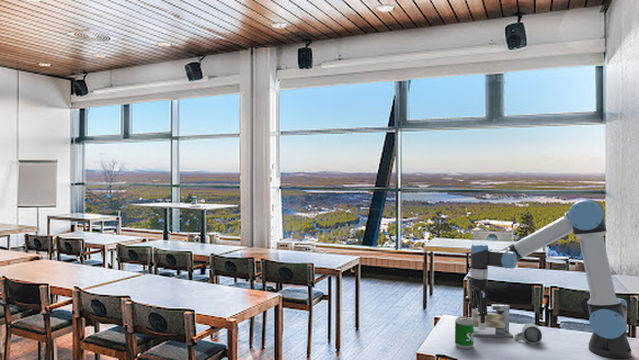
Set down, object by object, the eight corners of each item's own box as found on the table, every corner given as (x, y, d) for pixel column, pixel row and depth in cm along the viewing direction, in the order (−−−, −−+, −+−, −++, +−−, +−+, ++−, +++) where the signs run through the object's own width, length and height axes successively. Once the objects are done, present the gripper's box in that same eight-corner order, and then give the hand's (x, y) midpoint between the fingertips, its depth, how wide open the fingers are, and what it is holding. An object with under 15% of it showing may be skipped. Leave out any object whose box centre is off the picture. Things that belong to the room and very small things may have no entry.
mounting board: (513, 337, 203) (513, 329, 203) (472, 336, 203) (472, 328, 203) (500, 326, 218) (500, 319, 218) (462, 325, 218) (462, 318, 218)
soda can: (461, 350, 186) (461, 321, 186) (451, 344, 193) (451, 316, 193) (477, 349, 188) (477, 320, 188) (466, 342, 195) (467, 315, 195)
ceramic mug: (539, 339, 202) (539, 322, 202) (542, 345, 194) (542, 327, 194) (514, 336, 205) (513, 319, 205) (515, 342, 197) (515, 325, 197)
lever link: (502, 325, 207) (502, 308, 207) (505, 328, 204) (505, 311, 204) (472, 324, 208) (472, 308, 208) (475, 327, 204) (475, 310, 204)
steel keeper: (508, 333, 208) (509, 306, 208) (492, 333, 208) (492, 305, 208) (507, 332, 210) (507, 304, 210) (491, 332, 210) (491, 304, 210)
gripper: (463, 272, 217) (463, 318, 217) (478, 282, 195) (477, 333, 195) (479, 272, 217) (478, 318, 217) (495, 283, 195) (495, 334, 195)
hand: (478, 326), depth 206 cm, fingers open, 9 cm apart
